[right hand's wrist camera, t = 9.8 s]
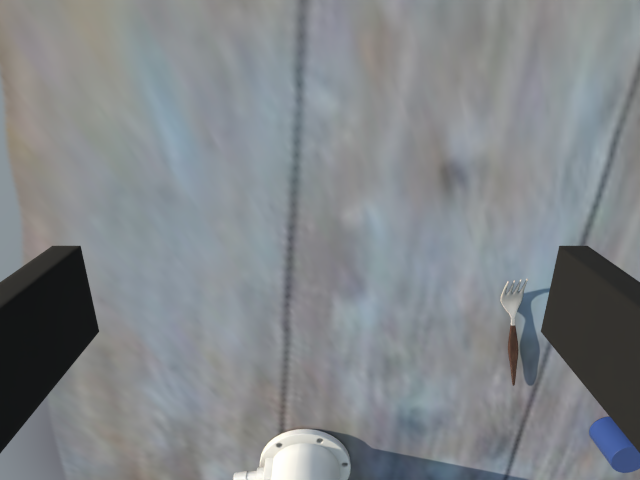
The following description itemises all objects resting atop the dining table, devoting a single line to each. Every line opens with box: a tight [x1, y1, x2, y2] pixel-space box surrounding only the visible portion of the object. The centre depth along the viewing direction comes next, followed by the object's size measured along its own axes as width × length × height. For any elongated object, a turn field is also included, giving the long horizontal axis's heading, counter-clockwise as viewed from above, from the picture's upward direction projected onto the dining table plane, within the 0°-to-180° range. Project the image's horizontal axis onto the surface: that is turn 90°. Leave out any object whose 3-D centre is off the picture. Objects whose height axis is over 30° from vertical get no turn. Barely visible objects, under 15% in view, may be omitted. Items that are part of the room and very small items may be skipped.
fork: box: [501, 278, 528, 385], centre depth 54 cm, size 3×16×2 cm, turn 9°
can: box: [589, 417, 640, 473], centre depth 58 cm, size 4×4×5 cm
